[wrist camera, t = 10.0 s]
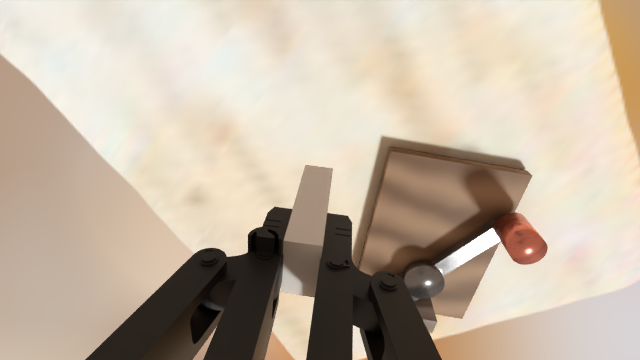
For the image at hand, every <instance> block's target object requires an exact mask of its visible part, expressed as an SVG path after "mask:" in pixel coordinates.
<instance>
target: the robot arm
mask: <svg viewBox="0 0 640 360" xmlns="http://www.w3.org/2000/svg"><path fill="white" fill-rule="evenodd" d="M332 171H333V169H332V168H324V167H317V166H309V165H305V169H304V172H303V175H302V179H301V182H300V186H299V189H298V193H297V196H296V200H295V203H294V206H293V209H287V208H279V207H274V208H273V209H272V210H270V211H269V212H268V214H267V216H266V219H265V221H264V224H263V226H262V227H259V228H256V229H254V230H252V231H251V232H250V233H249V234H248V253H246V254H243V255H239V256H232V257H226V254H225V253H224V252H223V251H222V250H220V249H216V248H206V249H203V250H200V251H198V252H197V253H195V254H194V255H193V256H192V257H191V258H190V259H189V260H188V261H187V262H186V263H185V264H183V265H182V266H181V267H180V268H179V269H178V270H177V271H176V272H175V273H174V274H173V275H172V276H171V277H170V278H169V279H168V280H167V281H166V282H165V283H164V284H163V285H162V286H161V287H160V288H159V289H158V290H157V291H156V292H155V293H154V294H153V295H152V296H150V298H148V299H147V301H145V303H143V304H142V305H141V306H140V307H139V308H138V309H137V310H136V311H135V312H134V313H133V314H132V315H131V316H130V317H129V318H128V319H127V320H126V321H125V322H124V323H123V324H122V325H121V326H120V327H119V328H118V329H117V330H115V331H114V332H113V333H112V334H111V335H110V336H109V337H108V338H107V339H106V340H105V341H104V342H103V343H102V344H101V345H100V346H99V347H98V348H97V349H96V350H95V351H94V352H93V353H92V354H91V355H90V356H89V357H88V358H87V359H86V360H193V358H194V357H195V355H196V354H197V353H198V351H199V350H200V349H201V347H202V346H203V344H204V343H205V342H206V340H207V339H208V338H209V336H210V335H211V333H212V332H213V330H214V329H215V328H216V327H217V328H216V330H215V333H214V335H213V338H212V340H211V342H210V345H209V347H208V350H207V352H206V355H205V357H204V359H203V360H264V359H265V355H266V351H267V347H268V343H269V339H270V335H271V331H272V327H273V323H274V319H275V314H276V310H277V306H278V300H279V292H281V293H289V294H296V295H303V296H310V297H315V300H314V307H313V314H312V322H311V329H310V336H309V344H308V351H307V358H306V360H352V336H353V325H354V326H356V327H359V328H360V333H361V337H362V340H363V344H364V347H365V351H366V354H367V358H368V360H442V359H441V357H440V355H439V353H438V351H437V349H436V347H435V344H434V342H433V340H432V338H431V336H430V334H429V332H428V330H427V328H426V326H425V324H424V321H423V319H422V317H421V315H420V313H419V311H418V309H417V307H416V305H415V303H414V301H413V299H412V297H411V294H410V292H409V290H408V288H407V286H406V284H405V282H404V281H403V280H402V278H401V277H399V276H398V275H397V274H394V273H392V272H389V271H379V272H376V273H375V274H373V275H372V276H371V275H369V274H366V273H364V272H362V271H360V270H359V269H357V268H356V267H355V265H354V264H353V262H352V222H351V220H350V219H349V217H348V216H344V215H337V214H330V213H327V210H328V202H329V194H330V187H331V179H332ZM280 288H281V290H280Z"/></svg>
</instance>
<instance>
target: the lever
mask: <svg viewBox="0 0 640 360" xmlns="http://www.w3.org/2000/svg"><path fill="white" fill-rule="evenodd" d="M499 241H501V242H502V244H503V245H504V247H505V248H506V250H507V252H508V253H509V255H510V256H511V258H512V259H513V260H514V261H515V262H517V263H519V264H532V263H535V262H537V261H539V260H541V259H542V258H543V257H544V256H545V254H546V252H547V244H546V242H545V241H544V240H543V239H542V237H541V236H540V235H539V234H538V233H537V231H536V230H535V229H534V228H533V227H532V225H531V224H530V223H529V222H528V220H527V219H526V218H525V217H524V216H523V215H521V214H519V213H507V214H505V213H504V214H502V215H501V216H499V217H498V218H496V219H494V220H493V221H491V222H490V223H488V224H487V225H485V226H484V227H482V228H481V229H479V230H477V231H476V232H474V233H473V234H471V235H470V236H468V237H467V238H465V239H464V240H462V241H461V242H459V243H457V244H456V245H454V246H453V247H451V248H450V249H448V250H447V251H445V252H444V253H442V254H441V255H439V256H437V257H436V258H434V259H433V260H431V261H429V260H417V261H414V262H412V263H410V264H408V265H407V266H406V267H405V269H404V271H403V273H401V274H399V275H398V276H399V277H401V278H402V280H403V281H404V282H405V284H406V286H407V288H408V290H409V292H410V294H411V297H412V299H413V301H414V302H415V301H417V300H418V299H428V298H432V297H434V296H436V295H438V294H439V293H440V292H441V291H442V290H443V288H444V286H445V281H444V278H443V276H444V275H446V274H447V273H449V272H451V271H452V270H454V269H455V268H457V267H459V266H460V265H462V264H464V263H465V262H467V261H468V260H470V259H472V258H473V257H475V256H476V255H478V254H480V253H481V252H483V251H485V250H486V249H488V248H489V247H491V246H493V245H494V244H496V243H498V242H499Z"/></svg>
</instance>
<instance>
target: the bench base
mask: <svg viewBox="0 0 640 360" xmlns="http://www.w3.org/2000/svg"><path fill="white" fill-rule="evenodd" d="M531 177H532V175H531V174H530V173H529V172H528V171H526V170H520V169H514V168H509V167H503V166H497V165H491V164H486V163H480V162H474V161H468V160H463V159H457V158H451V157H445V156H440V155H434V154H428V153H422V152H417V151H411V150H405V149H399V148H394V147H390V150H389V153H388V157H387V161H386V165H385V169H384V172H383V176H382V180H381V184H380V187H379V191H378V195H377V199H376V203H375V206H374V210H373V214H372V218H371V221H370V225H369V229H368V233H367V236H366V240H365V244H364V248H363V252H362V255H361V259H360V263H359V267H358V269H359V270H360V271H362V272H364V273H366V274H369V275H371V276H372V275H373V274H375V273H376V272H379V271H389V272H392V273H394V274H397V275H399V274H401V273H403V271H404V269H405V267H406V266H407V265H408V264H410V263H412V262H414V261H417V260H429V261H431V260H433V259H434V258H436V257H437V256H439V255H441V254H442V253H444V252H445V251H447V250H448V249H450V248H451V247H453V246H454V245H456V244H457V243H459V242H461V241H462V240H464V239H465V238H467V237H468V236H470V235H471V234H473V233H474V232H476V231H477V230H479V229H481V228H482V227H484V226H485V225H487V224H488V223H490V222H491V221H493V220H494V219H496V218H498V217H499V216H501V215H502V214H504V213H505V214H507V213H514V212H515V210H516V208H517V206H518V204H519V202H520V200H521V198H522V196H523V194H524V192H525V190H526V188H527V186H528V183H529V181H530V179H531ZM499 243H500V241H499V242H498V243H496V244H494V245H493V246H491V247H489V248H488V249H486V250H485V251H483V252H481V253H480V254H478V255H476V256H475V257H473V258H472V259H470V260H468V261H467V262H465V263H464V264H462V265H460V266H459V267H457V268H455V269H454V270H452V271H451V272H449V273H447V274H446V275H444V276H443V278H444V281H445V286H444V288H443V290H442V291H441V292H440V293H439V294H438V295H436V296H434V297H432V298H428V299H418V300H417V301H415V302H414V303H415V305H416V307H417V309H418V311H419V313H420V315H421V317H422V319H423V321H424V324H425V326H426V328H427V330H428V332H430V333H432V332H433V330H434V328H435V325H436V323H437V320H436V316H435V314H438V315H444V316H449V317H455V318H461V319H462V318H463V316H464V314H465V312H466V310H467V308H468V306H469V304H470V302H471V300H472V298H473V296H474V294H475V292H476V290H477V288H478V285H479V283H480V281H481V279H482V277H483V275H484V273H485V271H486V269H487V267H488V265H489V263H490V261H491V259H492V257H493V255H494V253H495V251H496V249H497V247H498V245H499ZM430 333H429V334H430Z"/></svg>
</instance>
